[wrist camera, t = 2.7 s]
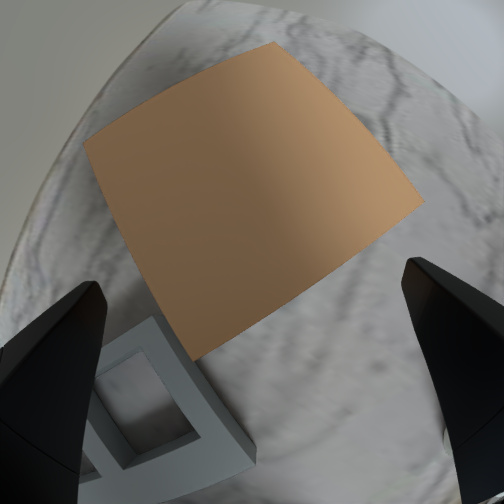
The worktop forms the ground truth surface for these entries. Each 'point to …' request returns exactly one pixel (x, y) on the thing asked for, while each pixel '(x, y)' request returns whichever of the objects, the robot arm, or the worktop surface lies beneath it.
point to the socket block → (174, 452)
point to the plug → (244, 191)
